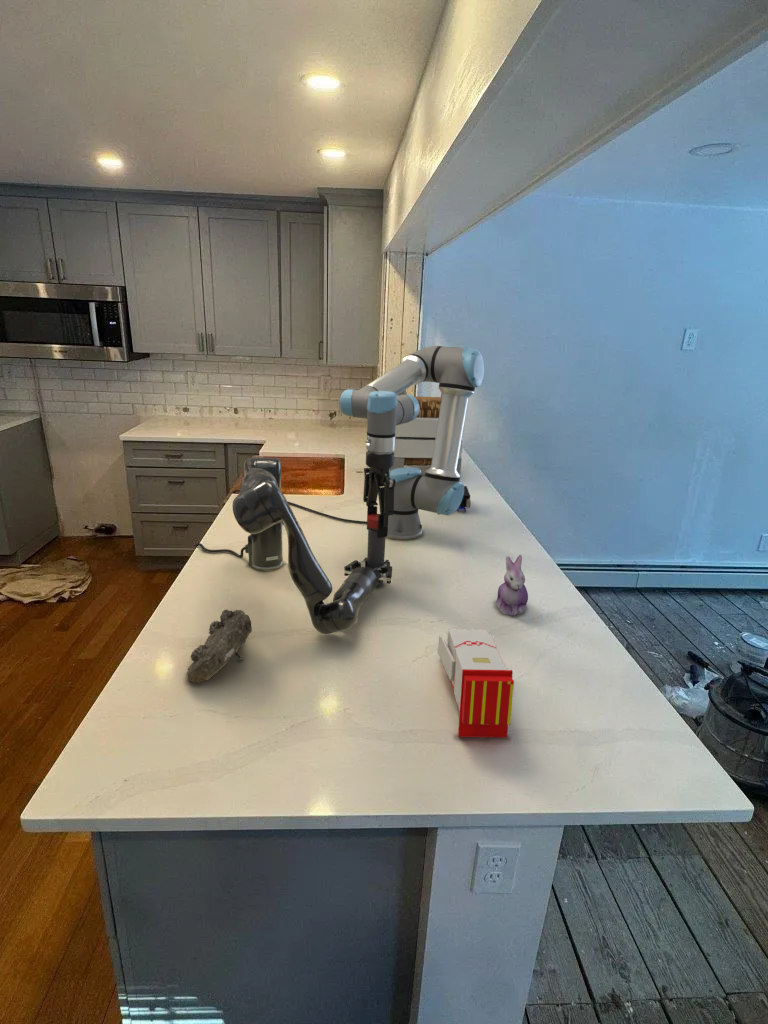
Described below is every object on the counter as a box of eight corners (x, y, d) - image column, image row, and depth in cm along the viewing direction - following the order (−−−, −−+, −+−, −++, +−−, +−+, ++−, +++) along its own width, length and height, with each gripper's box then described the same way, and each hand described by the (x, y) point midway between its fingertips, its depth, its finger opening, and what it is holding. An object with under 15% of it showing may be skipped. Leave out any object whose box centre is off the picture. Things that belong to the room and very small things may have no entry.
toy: (488, 613, 130) (523, 677, 101) (484, 667, 133) (517, 744, 104) (435, 612, 130) (455, 676, 101) (432, 666, 133) (451, 743, 103)
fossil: (206, 612, 136) (251, 583, 131) (234, 639, 138) (279, 612, 133) (166, 676, 116) (217, 644, 111) (199, 706, 119) (250, 677, 114)
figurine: (510, 620, 147) (517, 567, 142) (486, 602, 155) (492, 552, 150) (538, 612, 151) (545, 561, 146) (513, 595, 159) (519, 546, 154)
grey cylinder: (384, 588, 161) (387, 523, 154) (366, 588, 160) (369, 523, 154) (382, 580, 165) (385, 517, 159) (365, 580, 165) (367, 517, 158)
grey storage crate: (382, 463, 289) (386, 382, 275) (445, 464, 293) (451, 384, 279) (390, 482, 257) (394, 392, 243) (460, 483, 261) (468, 394, 247)
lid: (390, 523, 158) (390, 515, 157) (382, 530, 153) (382, 522, 152) (372, 520, 160) (372, 512, 159) (363, 526, 155) (364, 518, 154)
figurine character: (470, 516, 223) (465, 500, 237) (473, 499, 220) (467, 484, 233) (453, 516, 223) (449, 500, 236) (455, 498, 220) (451, 483, 233)
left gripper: (385, 578, 145) (403, 553, 160) (333, 568, 148) (355, 545, 164) (383, 604, 147) (401, 577, 162) (332, 594, 151) (354, 568, 166)
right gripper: (352, 444, 155) (350, 523, 163) (384, 461, 140) (380, 547, 148) (376, 442, 159) (373, 519, 167) (410, 458, 144) (405, 542, 151)
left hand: (378, 561), depth 163 cm, fingers closed on grey cylinder, 5 cm apart
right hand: (376, 532), depth 157 cm, fingers open, 6 cm apart
